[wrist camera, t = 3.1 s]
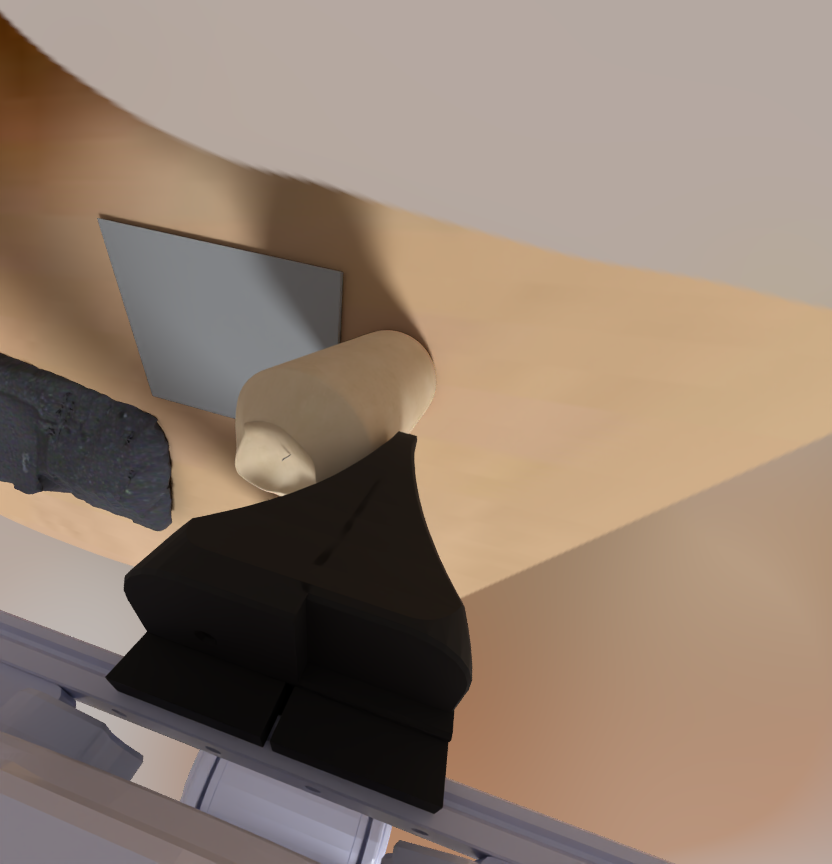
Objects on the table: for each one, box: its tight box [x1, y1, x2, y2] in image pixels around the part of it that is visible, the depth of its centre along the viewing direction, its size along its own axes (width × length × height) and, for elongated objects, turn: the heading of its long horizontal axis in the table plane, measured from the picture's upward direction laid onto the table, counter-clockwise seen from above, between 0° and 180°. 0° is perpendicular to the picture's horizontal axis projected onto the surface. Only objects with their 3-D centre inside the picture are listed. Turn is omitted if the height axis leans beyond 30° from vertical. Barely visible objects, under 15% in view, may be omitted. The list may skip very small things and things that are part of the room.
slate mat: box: [97, 218, 343, 419], centre depth 19 cm, size 14×11×1 cm
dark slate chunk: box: [0, 353, 172, 531], centre depth 26 cm, size 15×22×5 cm
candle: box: [235, 330, 436, 496], centre depth 13 cm, size 6×6×10 cm
